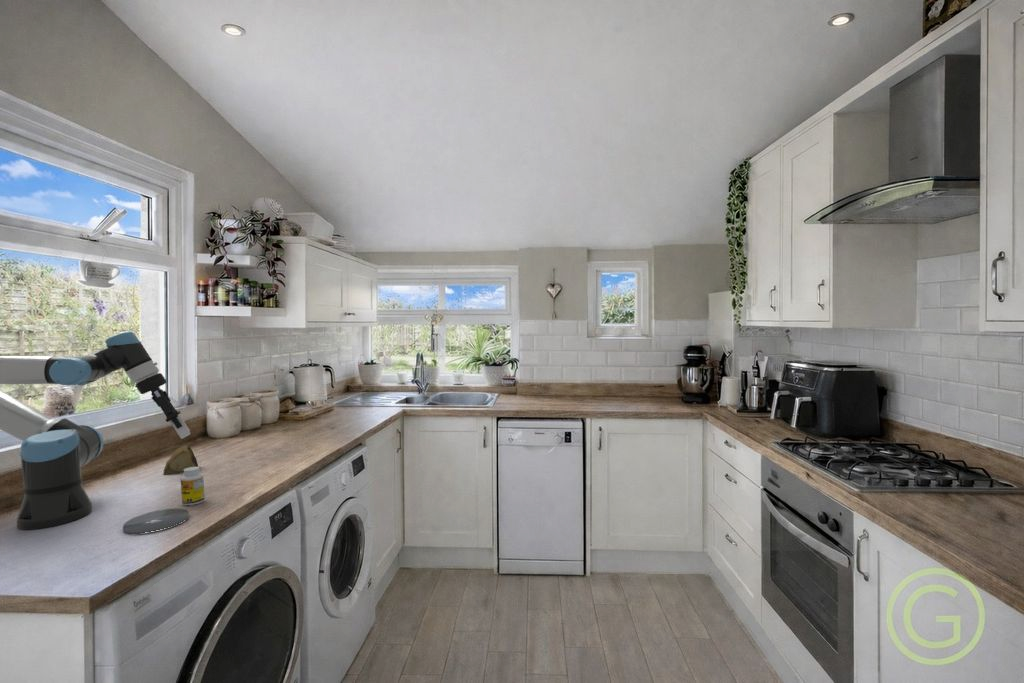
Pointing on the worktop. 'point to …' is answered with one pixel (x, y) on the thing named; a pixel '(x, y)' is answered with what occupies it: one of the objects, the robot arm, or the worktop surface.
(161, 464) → the worktop surface
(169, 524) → the plate
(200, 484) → the supplement bottle
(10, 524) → the worktop surface
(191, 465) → the rock
